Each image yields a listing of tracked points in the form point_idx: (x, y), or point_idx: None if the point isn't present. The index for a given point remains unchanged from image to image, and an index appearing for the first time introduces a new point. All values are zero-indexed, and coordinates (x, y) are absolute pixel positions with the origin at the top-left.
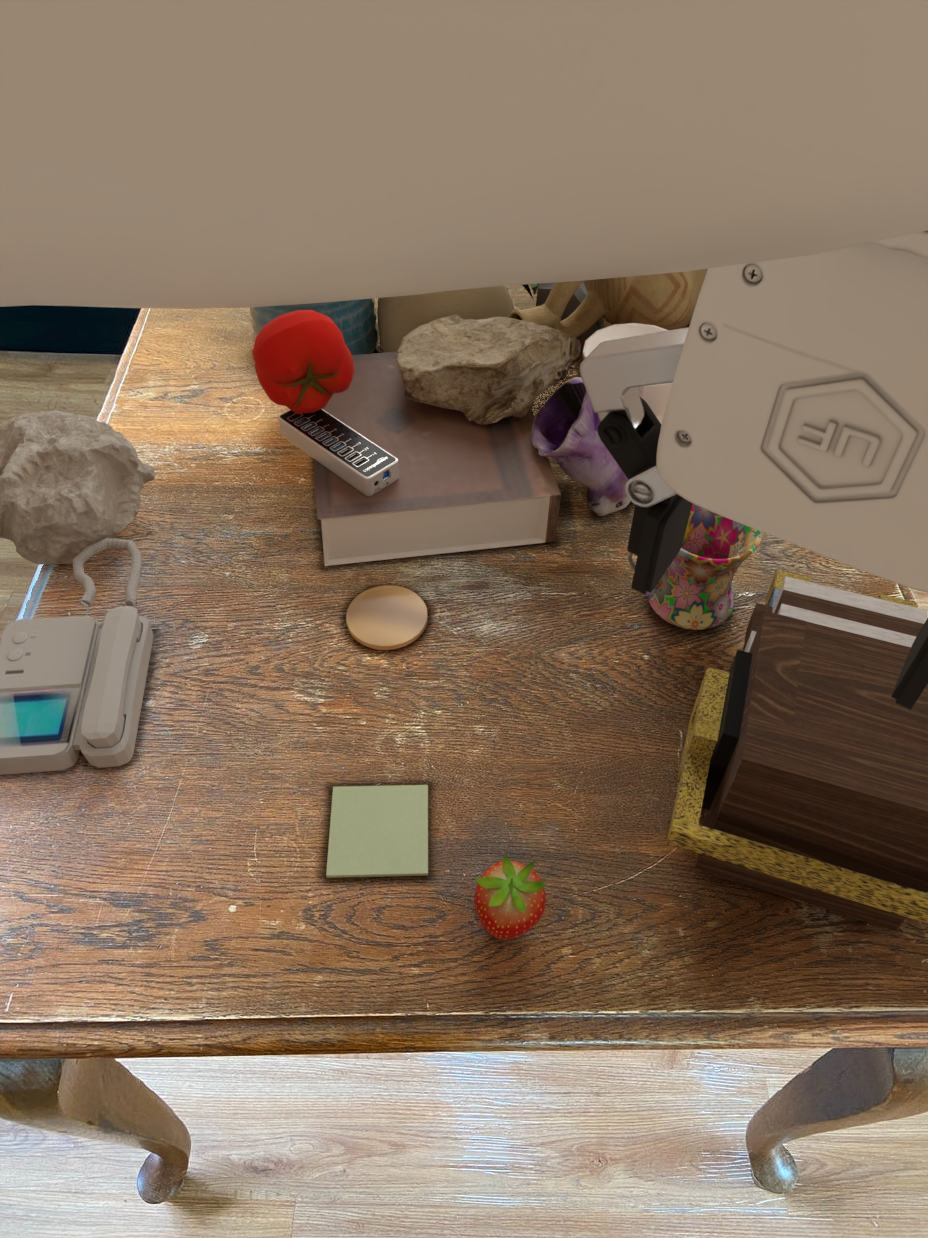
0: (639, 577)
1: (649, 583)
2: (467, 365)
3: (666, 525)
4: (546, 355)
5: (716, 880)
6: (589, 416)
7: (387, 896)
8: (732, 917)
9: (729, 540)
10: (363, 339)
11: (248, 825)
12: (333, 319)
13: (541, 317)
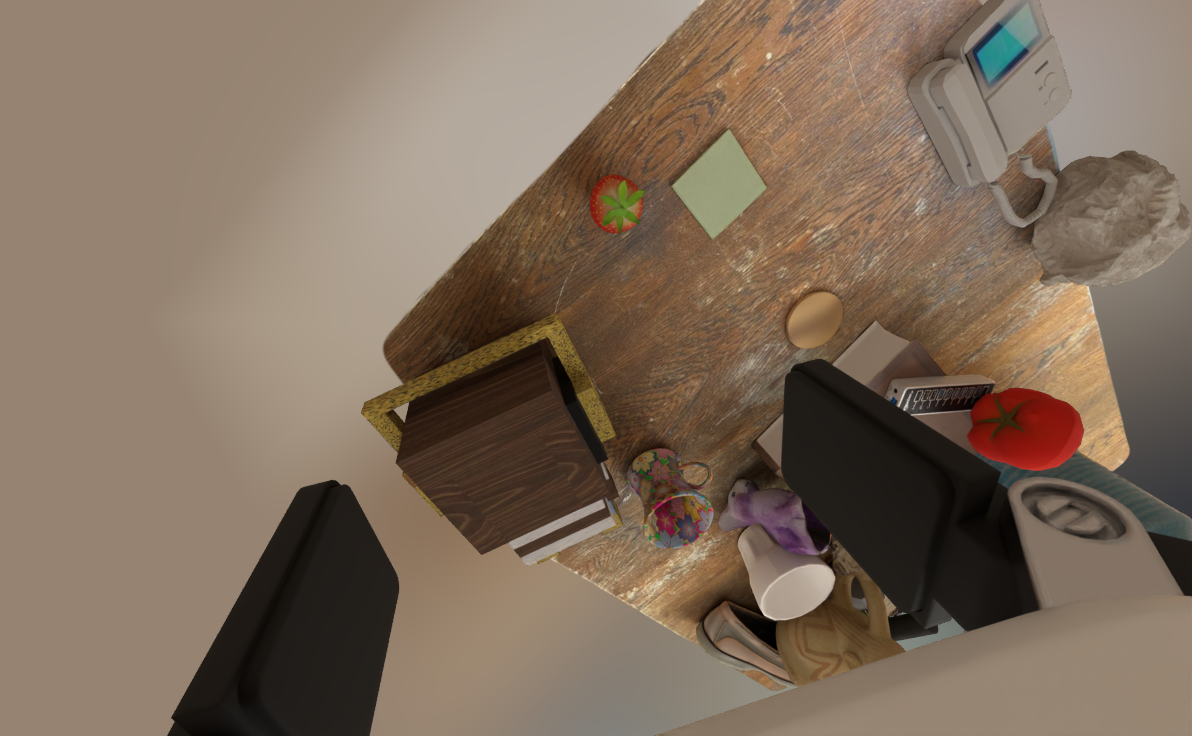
0: (833, 375)
1: (808, 380)
2: None
3: (921, 483)
4: None
5: (519, 326)
6: (799, 533)
7: (683, 151)
8: (496, 312)
9: (660, 521)
10: None
11: (799, 117)
12: (1001, 474)
13: None
